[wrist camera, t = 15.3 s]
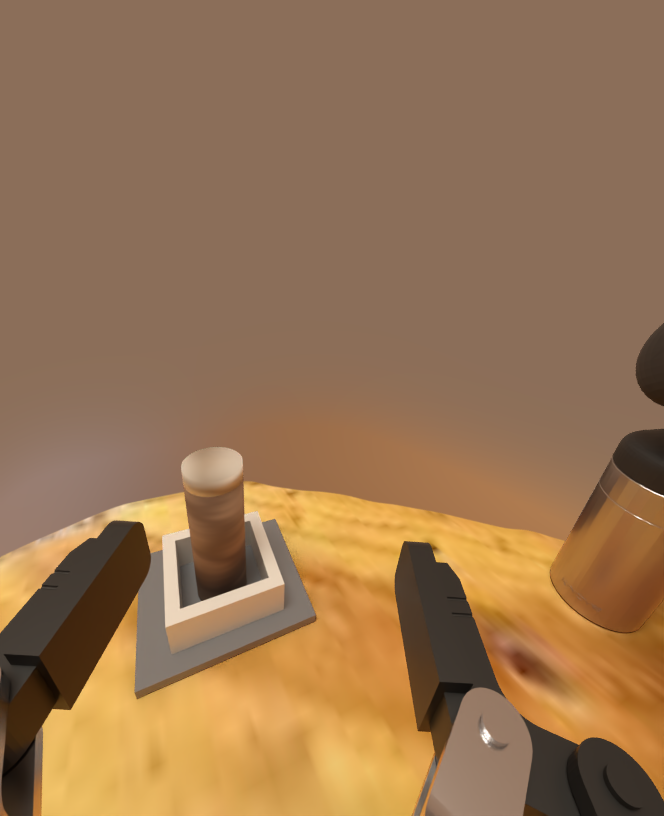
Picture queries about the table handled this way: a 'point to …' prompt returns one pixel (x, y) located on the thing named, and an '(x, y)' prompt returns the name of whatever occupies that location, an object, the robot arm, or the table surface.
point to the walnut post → (216, 519)
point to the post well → (214, 607)
